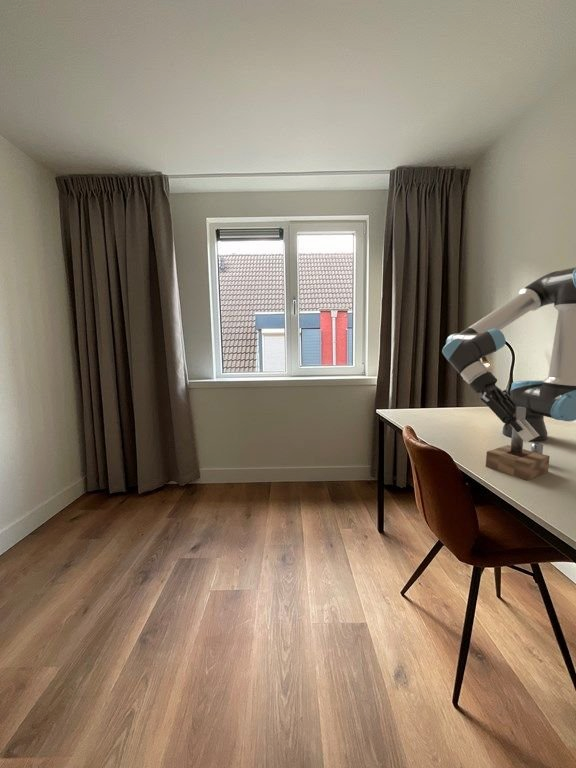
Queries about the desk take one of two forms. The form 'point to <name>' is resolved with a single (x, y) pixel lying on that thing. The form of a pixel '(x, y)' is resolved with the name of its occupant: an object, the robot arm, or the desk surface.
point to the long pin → (516, 439)
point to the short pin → (537, 448)
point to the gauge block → (517, 462)
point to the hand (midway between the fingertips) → (532, 438)
